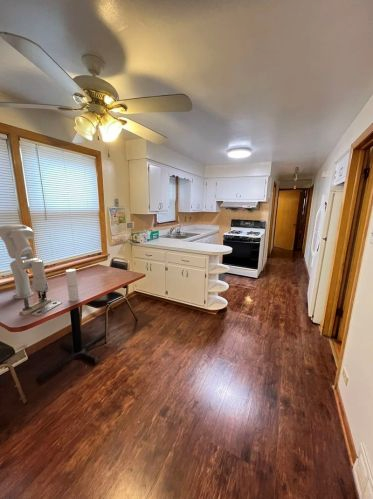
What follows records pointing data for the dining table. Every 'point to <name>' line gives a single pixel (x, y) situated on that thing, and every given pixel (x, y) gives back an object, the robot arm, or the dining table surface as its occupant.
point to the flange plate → (46, 308)
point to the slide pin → (41, 297)
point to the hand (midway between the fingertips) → (42, 298)
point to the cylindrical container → (72, 284)
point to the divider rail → (32, 306)
